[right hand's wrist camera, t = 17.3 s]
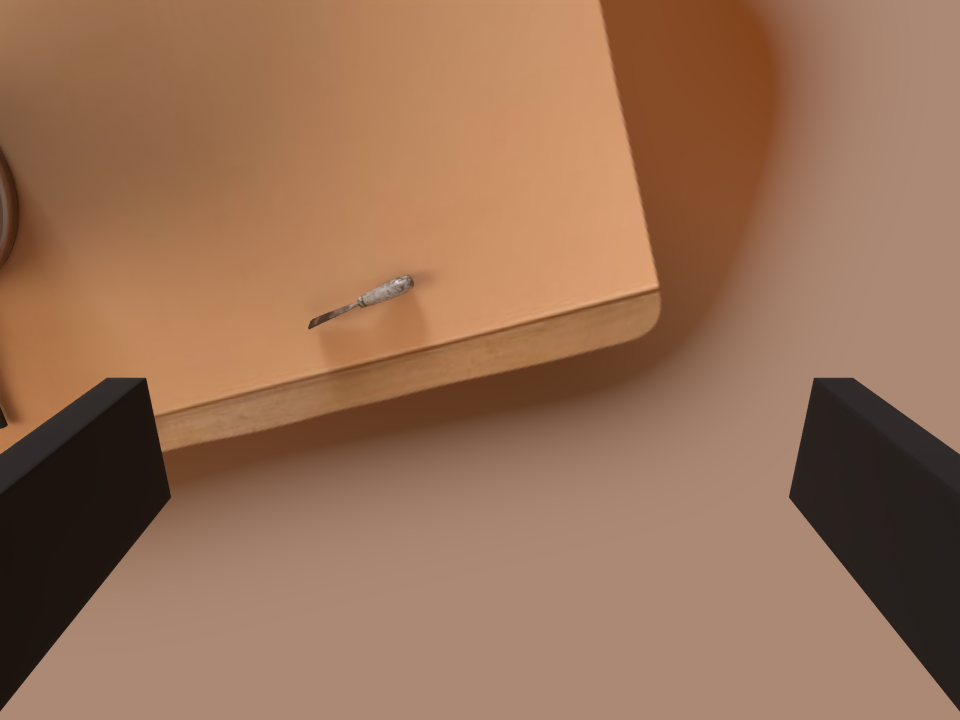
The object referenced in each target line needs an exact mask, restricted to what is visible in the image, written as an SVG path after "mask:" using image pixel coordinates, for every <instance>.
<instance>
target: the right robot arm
mask: <svg viewBox="0 0 960 720" xmlns="http://www.w3.org/2000/svg"><path fill="white" fill-rule="evenodd" d="M17 223H18V206H17V197H16V192H15V187H14V183H13V180H12V177H11V174H10V171H9V168H8V166H7V163H6V161H5V159H4V157H3V155H2V153H1V151H0V268H1V267H2V265H3V264H4V262H5V261H6V259H7V258H8V255H9V253H10V251H11V249H12V246H13V243H14V240H15V236H16V231H17ZM7 425H8V424H7V422H6V420H5V417H4V415H3V412H2V410H1V408H0V429H1V428H4V427H6V426H7ZM170 498H171V495H170V490H169V485H168V480H167V476H166V471H165V466H164V461H163V457H162V452H161V447H160V442H159V437H158V433H157V428H156V423H155V418H154V414H153V409H152V404H151V399H150V395H149V390H148V385H147V380H146V378H106V379H105V380H103V381H102V382H101V383H99V384H98V385H96V386H95V387H94V388H92V389H91V390H89V391H88V392H87V393H85V394H84V395H82V396H81V397H80V398H78V399H77V400H75V401H74V402H73V403H71V404H70V405H68V406H67V407H66V408H64V409H63V410H62V411H60V412H59V413H57V414H56V415H55V416H53V417H52V418H50V419H49V420H48V421H46V422H45V423H43V424H42V425H41V426H39V427H38V428H36V429H35V430H34V431H32V432H31V433H29V434H28V435H27V436H25V437H24V438H22V439H21V440H20V441H18V442H17V443H16V444H14V445H13V446H11V447H10V448H9V449H7V450H6V451H4V452H3V453H2V454H0V711H1V710H2V708H3V707H4V706H5V705H6V703H7V702H8V701H9V700H10V698H11V697H12V696H13V695H14V693H15V692H16V691H17V690H18V688H19V687H20V686H21V685H22V683H23V682H24V681H25V680H26V678H27V677H28V676H29V675H30V673H31V672H32V671H33V670H34V668H35V667H36V666H37V665H38V663H39V662H40V661H41V660H42V658H43V657H44V656H45V655H46V653H47V652H48V651H49V650H50V648H51V647H52V646H53V645H54V643H55V642H56V641H57V639H58V638H59V637H60V636H61V635H62V633H63V632H64V631H65V630H66V628H67V627H68V626H69V625H70V623H71V622H72V621H73V619H74V618H75V617H76V616H77V614H78V613H79V612H80V611H81V609H82V608H83V607H84V606H85V604H86V603H87V602H88V601H89V599H90V598H91V597H92V596H93V594H94V593H95V592H96V591H97V589H98V588H99V587H100V586H101V584H102V583H103V582H104V581H105V579H106V578H107V577H108V576H109V574H110V573H111V572H112V571H113V569H114V568H115V567H116V566H117V564H118V563H119V562H120V561H121V559H122V558H123V557H124V556H125V554H126V553H127V552H128V550H129V549H130V548H131V547H132V546H133V544H134V543H135V542H136V541H137V539H138V538H139V537H140V536H141V534H142V533H143V532H144V531H145V529H146V528H147V527H148V525H149V524H150V523H151V522H152V521H153V519H154V518H155V517H156V516H157V514H158V513H159V512H160V511H161V509H162V508H163V507H164V506H165V504H166V503H167V502H168V500H169V499H170ZM789 498H790V499H791V500H792V502H793V503H794V504H795V506H796V507H797V508H798V509H799V511H800V512H801V513H802V514H803V516H804V517H805V518H806V519H807V521H808V522H809V523H810V524H811V525H812V527H813V528H814V529H815V531H816V532H817V533H818V534H819V536H820V537H821V538H822V539H823V541H824V542H825V543H826V544H827V546H828V547H829V548H830V549H831V551H832V552H833V553H834V554H835V556H836V557H837V558H838V559H839V561H840V562H841V563H842V564H843V566H844V567H845V568H846V569H847V571H848V572H849V573H850V574H851V576H852V577H853V578H854V579H855V581H856V582H857V583H858V584H859V586H860V587H861V588H862V589H863V591H864V592H865V593H866V594H867V596H868V597H869V598H870V599H871V601H872V602H873V603H874V604H875V606H876V607H877V608H878V609H879V611H880V612H881V613H882V614H883V616H884V617H885V618H886V619H887V621H888V622H889V623H890V625H891V626H892V627H893V628H894V630H895V631H896V632H897V633H898V635H899V636H900V637H901V638H902V640H903V641H904V642H905V643H906V645H907V646H908V647H909V648H910V650H911V651H912V652H913V653H914V655H915V656H916V657H917V658H918V660H919V661H920V662H921V663H922V665H923V666H924V667H925V668H926V670H927V671H928V672H929V673H930V675H931V676H932V677H933V678H934V680H935V681H936V682H937V683H938V685H939V686H940V687H941V688H942V690H943V691H944V692H945V693H946V695H947V696H948V697H949V698H950V700H951V701H952V702H953V703H954V705H955V706H956V707H957V708H958V710H959V711H960V454H958V453H957V452H956V451H954V450H953V449H951V448H950V447H949V446H947V445H946V444H944V443H943V442H942V441H940V440H939V439H938V438H936V437H935V436H933V435H932V434H931V433H929V432H928V431H926V430H925V429H923V428H922V427H921V426H919V425H918V424H917V423H915V422H914V421H912V420H911V419H910V418H908V417H907V416H905V415H904V414H903V413H901V412H900V411H898V410H897V409H896V408H894V407H893V406H892V405H890V404H889V403H887V402H886V401H885V400H883V399H882V398H880V397H879V396H878V395H876V394H875V393H873V392H872V391H871V390H869V389H868V388H866V387H865V386H864V385H862V384H861V383H859V382H858V381H857V380H855V379H854V378H814V380H813V385H812V390H811V395H810V400H809V404H808V409H807V414H806V419H805V423H804V428H803V433H802V438H801V442H800V447H799V452H798V457H797V461H796V466H795V471H794V476H793V480H792V485H791V490H790V495H789Z"/></svg>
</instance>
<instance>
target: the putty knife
mask: <svg viewBox="0 0 960 720" xmlns="http://www.w3.org/2000/svg"><path fill="white" fill-rule="evenodd" d="M413 286H414V283H413V280H412V278H411V277H410V276H408V275H406V276H402V277H399V278H396V279H394V280H391V281H389V282H387V283H385V284H383V285H381V286H379V287H377V288H375V289H373V290H371V291H369V292H367V293H365V294H364V295H362V296H361V297H359V298H358V302H356V303H353V304H350V305H348V306H345V307H342V308H339V309H337V310H334V311H332V312H329V313H326V314H324V315H321V316H319V317H317V318H314V319H313V320H311V321H310V324H309V327H308V329H311V328H313V327H315V326H317V325H319V324H321V323H323V322H325V321H327V320H330V319H332V318H334V317H336V316H338V315H340V314H342V313H344V312H346V311H348V310H350V309H352V308H354V307H356V306H358V305H359V306H360V307H361V308H363V307H367V306H371V305H374V304H377V303H380V302H383V301H386V300H389V299H391V298H394V297H396V296H399V295H401V294H403V293H405V292H407V291H409V290H410V289H412V288H413Z"/></svg>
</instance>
